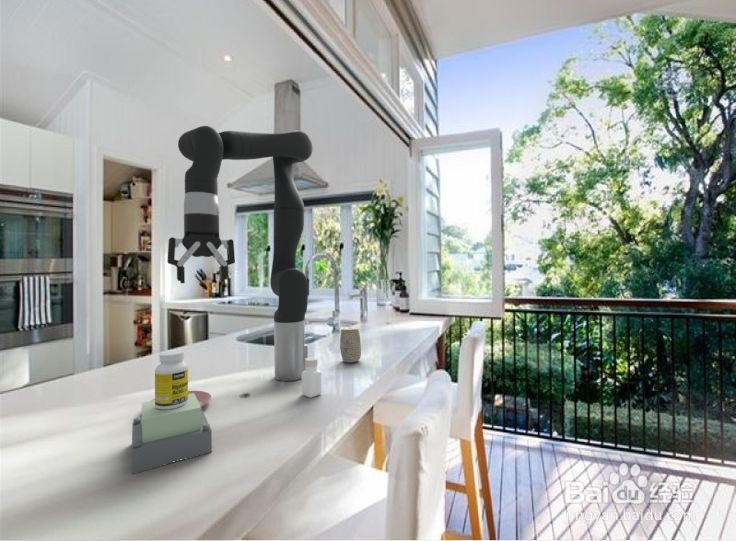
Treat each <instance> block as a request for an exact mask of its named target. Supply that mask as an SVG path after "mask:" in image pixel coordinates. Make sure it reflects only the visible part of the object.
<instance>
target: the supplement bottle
mask: <svg viewBox="0 0 736 541" xmlns="http://www.w3.org/2000/svg"><path fill="white" fill-rule="evenodd" d="M158 356H159V359H158V360H159V363H160V364H158V365H157V366H156V367H155V369H154V399H155V407H156V408H157V409H164V410H165V409H174V408H178V407H180V406H183V405H185V404H186V403H187V402H188V391H189V365H188V363H187V362H185V361H183V360H184V359H185V351H184V350H181V349H174V350H166V351H162V352H160V353H159V355H158Z"/></svg>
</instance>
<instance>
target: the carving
mask: <svg viewBox="0 0 736 541" xmlns="http://www.w3.org/2000/svg"><path fill="white" fill-rule="evenodd" d="M339 349H340V356H341V358H342V361H343V362H344V363H348V364H349V363H350V364H351V363H355V362H358V361H360V359H361V358H362V357H361V356H362V344H361V335H360V330H359V328H358V327H353V326H345V327H342V328H341V329H340V338H339Z"/></svg>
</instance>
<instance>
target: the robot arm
mask: <svg viewBox="0 0 736 541" xmlns="http://www.w3.org/2000/svg"><path fill="white" fill-rule="evenodd" d="M177 146H178V151H179V152H180V153H181V155H182V156H183V157H184V158H185V159H187V160H189V161H192V164H191V166H190V167H189V168H188V169H187V170H186V171H185V173H184V199H183V200H184V201H183V237H182V238H177V237H176V238H175V237H170V238H169V239H168V242H167V263H168V264H169V265H172V266H175V267H176V279H177V281H178V282H180V284H185V283H186V279H185V272H186V270H185V266H184V265H185V263H186V262H187V261H188V260H189V259H190V258H191V257H195V258H200V257H204V258H210V257H212V258H214V260H215V261H216V262H217V263H218V264H219V269H218V270H219V283H224V282H225V280H227V278H228V266H230V265H233V264H235V263H236V260H235V259H236V258H235V257H236V256H235V246H234V245H235V244H234V239H232V238H231V239H225V240H222V239H221V237H220V205H219V204H220V203H219V198H218V191H219V190H218V188H219V187H218V179H219V178H218V177H219V174H220V170H221V166H222V161H224V160H225V161H226V160H232V161H236V160H237V161H247V160H259V159H265V158H272V162H273V163H272V165H273V176H274V203H273V255H272V258H273V259H272V266H271V272H270V280H269V283H270V288H271V291H272V293H273V294H274V295H275V296H277V297H278V306H277V309H276V311H274V313H273V329H274V330H273V331H274V332H273V335H274V336H273V340H274V341H273V342H274V343H273V344H274V350H273V351H274V379H276V380H278V381H282V382H285V381H286V382H288V381H297V380H302V372H303V371H305V370H306V367H305V359H306V358H309V356H308V354H309V352H308V351H309V350H308V344H306V328H305V327H306V324H305V322H306V321H305V320H306V312H307V310H308V298H309V297H308V296H309V294H308V292H309V287H308V286H309V284H308V280H307V276H306V274H305V273H304V272H303V271H302V270H300V269H299V268H296V265H297V264H296V260H297V259H296V257H297V250H298V247H299V244H300V240H301V238H302V235H303V232H304V226H305V205H304V201H303V199H302V196H301V195H300V193H299V191H298V189H297V187H296V184H295V180H294V164H297V163H298V164H299V163H303V162H305V161H307V160H308V159H310V157H311V156H312V154H313V150H314V147H313V141H312V140H311V138H310V136H309V135H308V134H307V133H306V132H304V131H303V130H291V131H287V132H280V133H279V132H277V133H274V132H273V133H272V132H271V133H268V132H267V133H265V132H251V131H236V130H224V131H221V132H218V131H217V130H216V128H213V127H212V126H210V125H201V126H198V127H195V128H193V129H191V130H188V131H185V132H184V133H183V134H182V135H180V137H179V138H178V141H177ZM180 245H183V247H184V248H185V249H186V251H185V252H184V253H183V254H182V256H181V257H180V258H179V259H176V258H175V255H176V253H175V252H176V249H177V248H179V246H180ZM221 246H223V248H224V249H225V250H226V257H227V260H226V259H225V258H224V257H223V256H222V254H221V253H220V252H219V251H218V249H219V248H221Z"/></svg>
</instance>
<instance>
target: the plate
mask: <svg viewBox="0 0 736 541" xmlns="http://www.w3.org/2000/svg"><path fill="white" fill-rule="evenodd" d="M191 393H194V394H195V396H196V398H197V400H198V402H199V404H200V406H201V409H202V410H203V408H204V407H205V406H206V404H208V403H209V402H210V401H211V399H212V395H211V394H210V392H207V391H203V390H202V391H201V390H188V394H191ZM153 400H155V398H152V399H151V400H150V401H153Z"/></svg>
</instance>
